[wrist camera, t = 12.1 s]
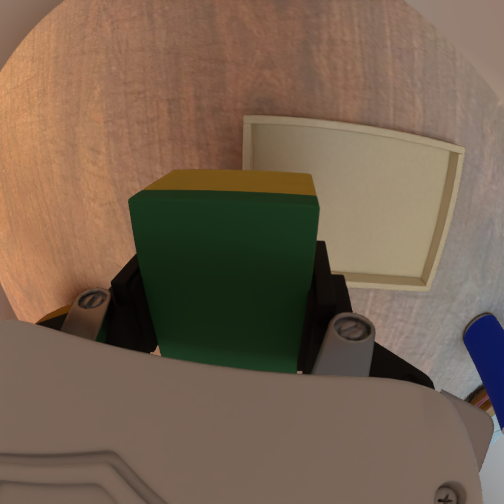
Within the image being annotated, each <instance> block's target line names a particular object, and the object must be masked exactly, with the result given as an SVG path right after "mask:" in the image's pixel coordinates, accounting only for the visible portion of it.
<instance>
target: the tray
mask: <svg viewBox="0 0 504 504" xmlns="http://www.w3.org/2000/svg"><path fill="white" fill-rule="evenodd" d="M243 123H244V124H243V154H242V170H256V171H278V172H295V173H309V174H311V175H312V178H313V182H314V186H315V190H316V194H317V198H318V202H319V206H320V214H319V224H318V233H317V240H320V241H325V243H326V248H327V253H328V258H329V263H330V269H331V274H342V275H344V277H345V281H346V285H347V287H354V288H369V289H386V290H403V291H423V292H429V290H430V288H431V285H432V282H433V279H434V276H435V273H436V271H437V268H438V265H439V261H440V258H441V255H442V252H443V249H444V245H445V242H446V238H447V235H448V231H449V227H450V224H451V220H452V216H453V212H454V207H455V203H456V199H457V194H458V189H459V184H460V179H461V173H462V168H463V161H464V154H465V147H462V146H459V145H456V144H453V143H449V142H446V141H442V140H438V139H434V138H430V137H426V136H421V135H417V134H412V133H408V132H403V131H398V130H393V129H387V128H382V127H376V126H370V125H364V124H357V123H350V122H342V121H334V120H325V119H316V118H305V117H292V116H275V115H243Z"/></svg>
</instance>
